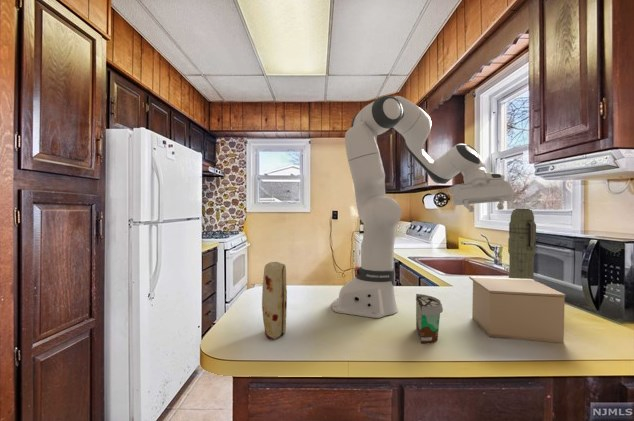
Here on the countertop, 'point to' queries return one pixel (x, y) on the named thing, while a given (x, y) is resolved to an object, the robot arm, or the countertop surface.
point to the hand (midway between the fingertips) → (486, 209)
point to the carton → (519, 315)
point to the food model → (274, 299)
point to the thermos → (522, 244)
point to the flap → (515, 286)
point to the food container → (427, 318)
